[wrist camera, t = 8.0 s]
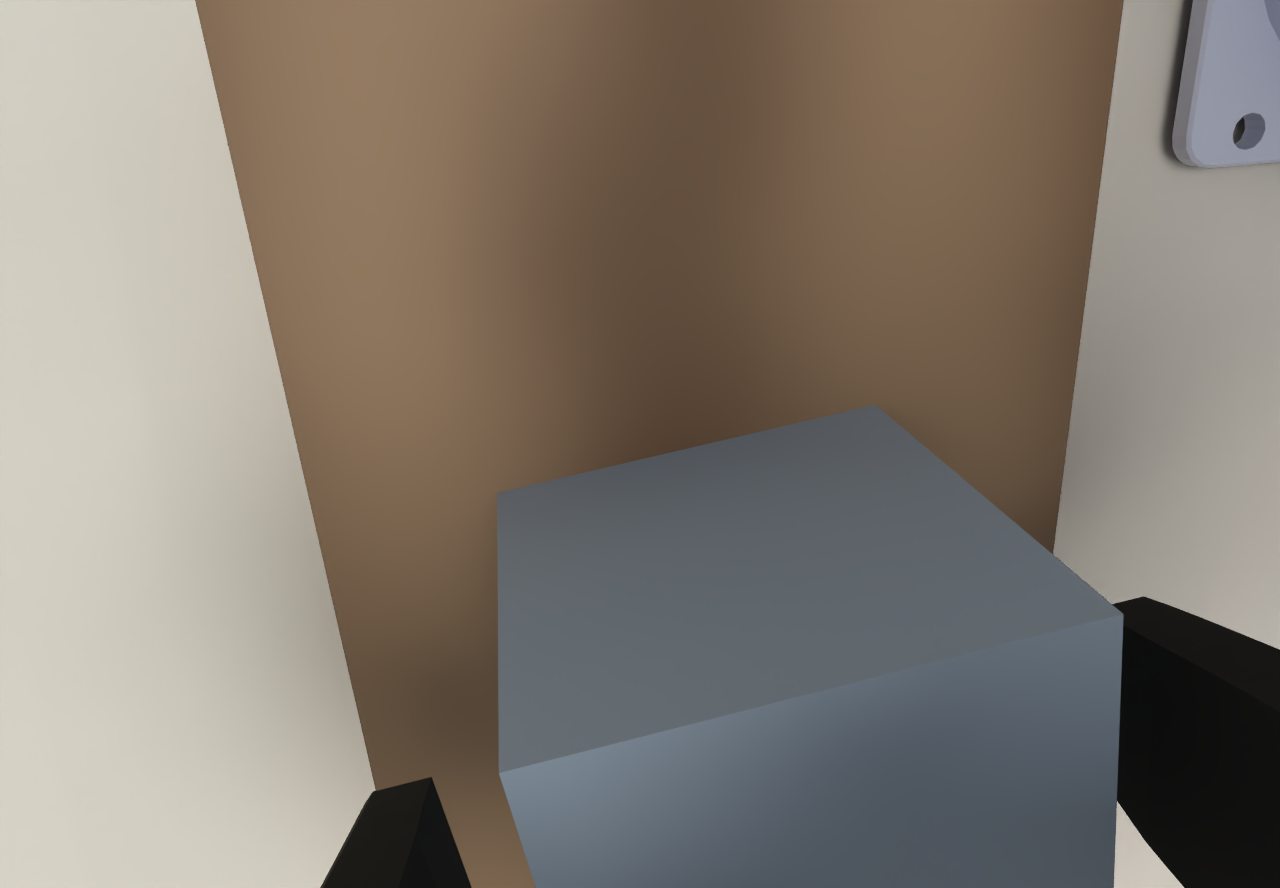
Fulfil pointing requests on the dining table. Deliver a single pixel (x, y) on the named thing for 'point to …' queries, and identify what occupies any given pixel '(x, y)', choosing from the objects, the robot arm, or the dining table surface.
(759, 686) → the block
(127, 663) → the dining table surface
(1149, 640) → the robot arm
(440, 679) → the plinth
